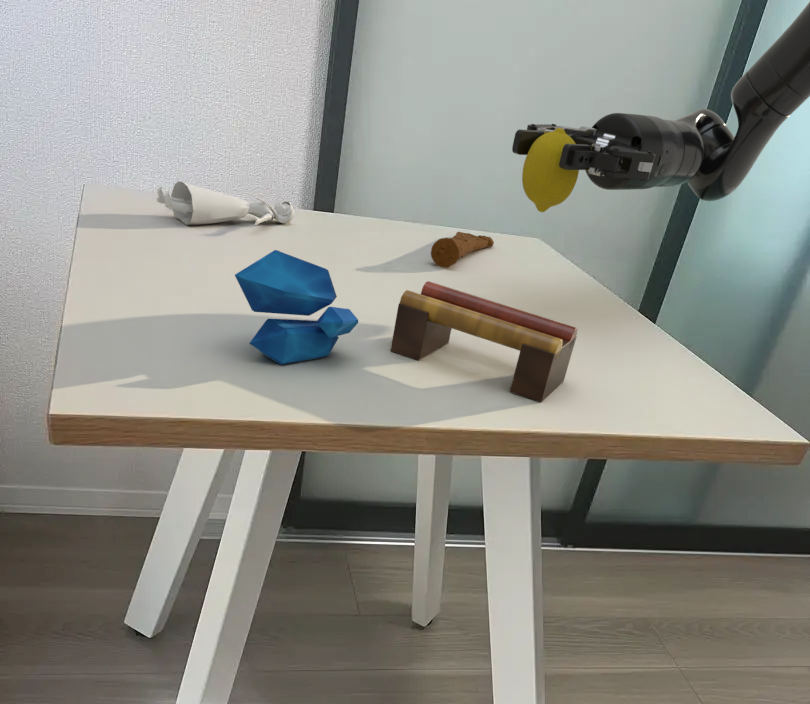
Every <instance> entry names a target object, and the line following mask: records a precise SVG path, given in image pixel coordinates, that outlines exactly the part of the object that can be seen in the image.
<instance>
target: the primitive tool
mask: <svg viewBox="0 0 810 704" xmlns="http://www.w3.org/2000/svg"><path fill="white" fill-rule="evenodd" d="M494 244H495V241H494V240H493V238H491V237H490V236H486V235H474V234H472V233H467V232H461V231H457V232H456V234H455V235H454V236H453V237H450V238H449V237H441V238H439V239H437V240H436V241H435V242H434V243H433V245H432V246H431V248H430V249H431V250H430V257H431V259H432V261H433V262H434V263H435V265H437V266H439V267H441V268H451V267H452V266H453V265H455V264H456V263H457V261H459V259H460V258H462V259H463V258H464V257H465V256H466V255H467V254H471V253H472V252H475V251H479V250H481V249H482V250H483V249H486V248H489V247H493V246H494Z"/></svg>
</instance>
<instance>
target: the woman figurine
mask: <svg viewBox="0 0 810 704" xmlns="http://www.w3.org/2000/svg"><path fill="white" fill-rule="evenodd" d="M162 189H163V186H160V187H158V188H157V192H156V193H157V196H158V197H156V202H157V203H160V204H164V207H165V208H167V209H170V210H172V213H173V216H174V218H175V219H178V220H179V221H181V222H182V223H183V224H185V225H186V226H193V225H194V226H195V225H209V224H210V225H211V224H216V223H224V222H225V223H226V222H230V221H232V222H233V221H237V220H240V219H242V218H245V216H247V215H252V216H254V217H253V218H254V219H255V222H254V224H253V225H254V226H259V224H261V223H263V222H266V221H268V222H272V221H274V220H275V221H277V222H279V223H281V224H283V225H284V224H290V222H292V220H293V219H294V218H295V217H294V216H295V209H294V207H293V205H292V203H291V202H290V201H283V202H281V201H279V202H276V203H275V204H274V206H272V205H271V204H270V203H269V202H267V201H266V200H265V199H262V198H260V197H259V196H253V198H254V199H255V200H250V201H248V200H245V199H242V198H240V197H237V196H232V195H230V194H225V193H222V192H219V191H216V190H213V189H208V188H205V187H201V186H199V185H195V184H191V183H187V182H183V181H180V180H178V181H177V182H176V183H174V185H173V188H172V191H171V194H170V191H167V192H166V193H164V191H163V190H162Z"/></svg>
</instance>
